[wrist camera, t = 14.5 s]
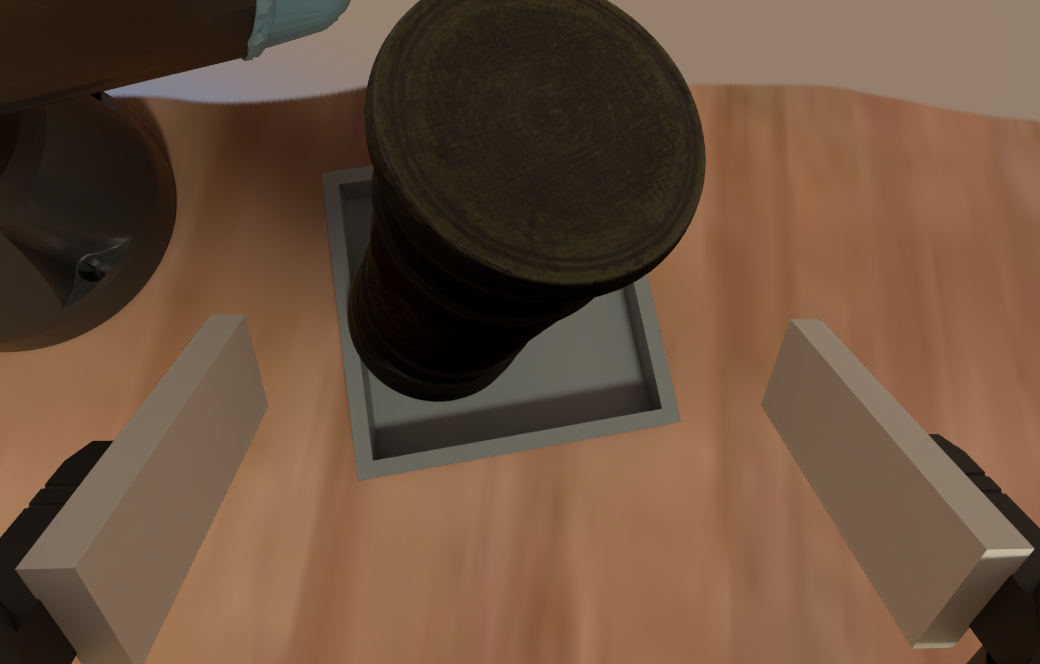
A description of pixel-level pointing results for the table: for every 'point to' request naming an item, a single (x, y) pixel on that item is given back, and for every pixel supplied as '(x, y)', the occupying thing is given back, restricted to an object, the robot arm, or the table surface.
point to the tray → (520, 388)
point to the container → (513, 181)
